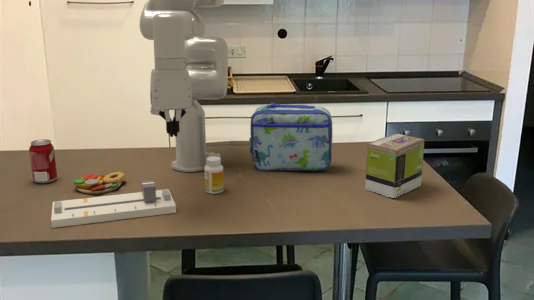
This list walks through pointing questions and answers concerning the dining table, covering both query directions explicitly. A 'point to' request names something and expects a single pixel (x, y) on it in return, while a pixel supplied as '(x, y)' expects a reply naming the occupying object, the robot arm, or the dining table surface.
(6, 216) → the dining table surface
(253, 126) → the lunch box
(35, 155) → the soda can
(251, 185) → the dining table surface
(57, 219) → the console board
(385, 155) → the tea box
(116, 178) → the toy food set
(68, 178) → the dining table surface
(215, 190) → the supplement bottle
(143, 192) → the fader knob
